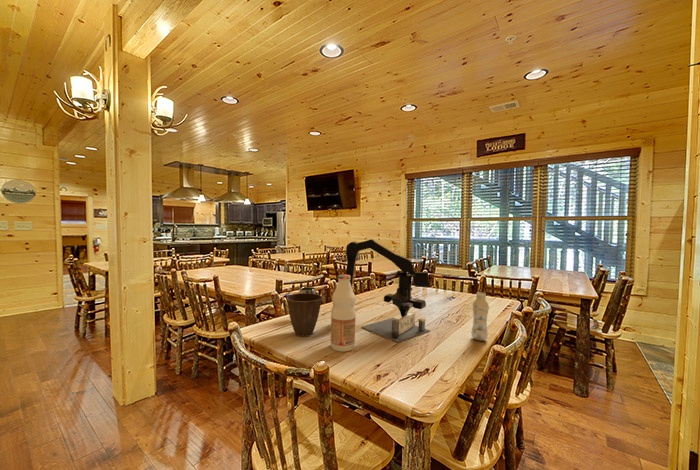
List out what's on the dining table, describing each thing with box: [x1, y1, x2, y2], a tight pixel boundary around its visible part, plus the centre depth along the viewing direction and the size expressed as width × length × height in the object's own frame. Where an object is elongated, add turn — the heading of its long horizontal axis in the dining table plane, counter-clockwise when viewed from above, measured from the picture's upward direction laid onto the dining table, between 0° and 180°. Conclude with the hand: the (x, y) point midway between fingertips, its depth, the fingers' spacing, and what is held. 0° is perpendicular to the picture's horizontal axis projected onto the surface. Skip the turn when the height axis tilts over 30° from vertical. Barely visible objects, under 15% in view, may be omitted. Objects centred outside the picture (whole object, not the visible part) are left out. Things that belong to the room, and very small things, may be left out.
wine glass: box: [299, 286, 316, 294], centre depth 145 cm, size 8×8×15 cm
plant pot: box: [286, 292, 322, 338], centre depth 125 cm, size 15×15×16 cm
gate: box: [397, 312, 416, 335], centre depth 129 cm, size 16×2×6 cm, turn 142°
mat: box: [361, 317, 430, 344], centre depth 132 cm, size 22×22×1 cm
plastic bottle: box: [470, 291, 490, 342], centre depth 122 cm, size 6×7×20 cm
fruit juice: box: [330, 274, 357, 353], centre depth 111 cm, size 9×9×28 cm
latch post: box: [417, 317, 427, 332], centre depth 130 cm, size 2×2×6 cm
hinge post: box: [391, 320, 399, 339], centre depth 121 cm, size 3×3×8 cm
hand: (403, 319), depth 132 cm, fingers closed
